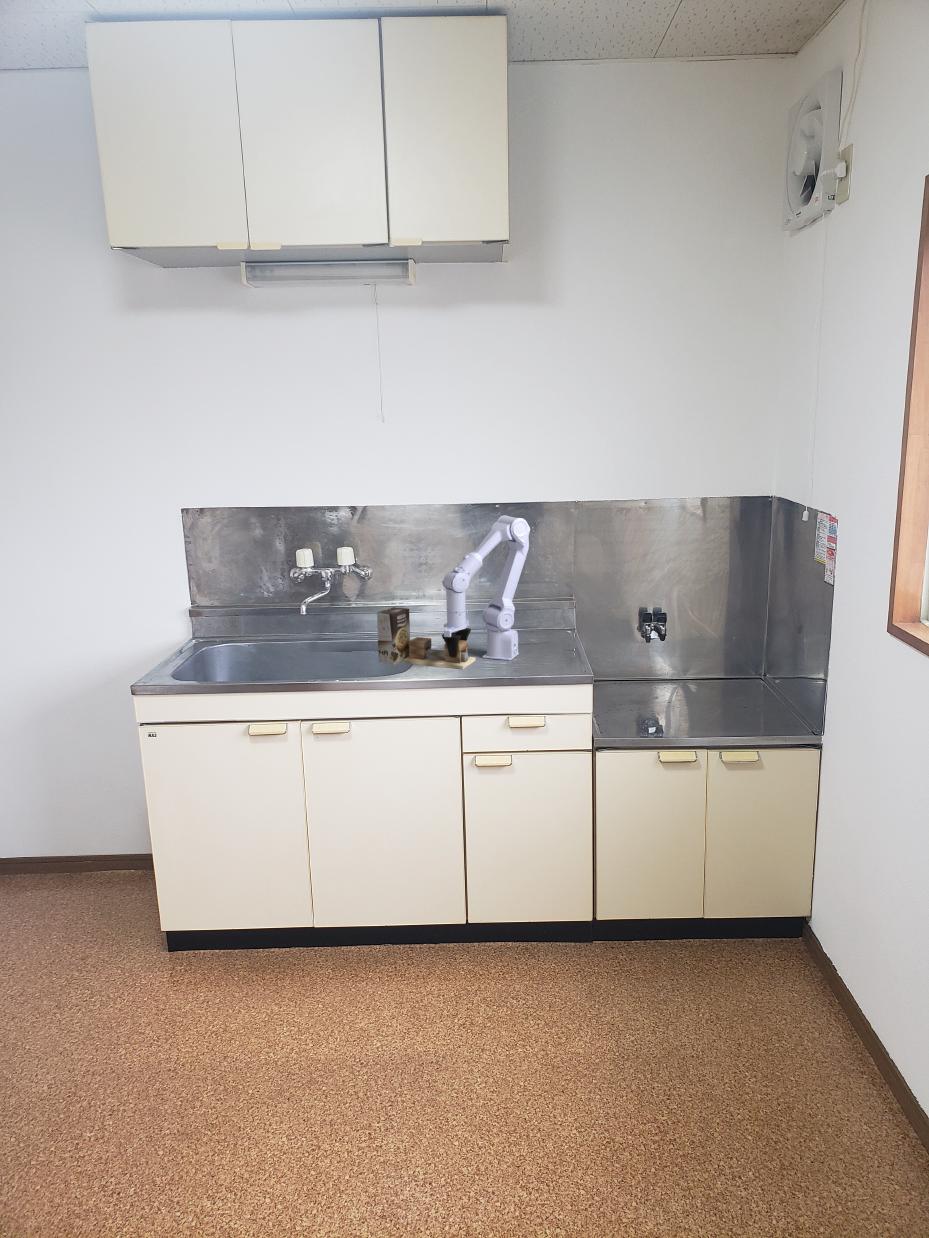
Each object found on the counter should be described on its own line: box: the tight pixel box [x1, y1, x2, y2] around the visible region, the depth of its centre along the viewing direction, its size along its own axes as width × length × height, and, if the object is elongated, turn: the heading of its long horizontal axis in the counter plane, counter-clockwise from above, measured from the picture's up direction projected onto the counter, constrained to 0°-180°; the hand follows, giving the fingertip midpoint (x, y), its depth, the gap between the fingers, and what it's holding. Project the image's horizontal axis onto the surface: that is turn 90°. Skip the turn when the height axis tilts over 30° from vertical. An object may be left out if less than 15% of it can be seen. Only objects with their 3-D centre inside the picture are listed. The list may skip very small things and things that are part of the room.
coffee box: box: [376, 606, 411, 666], centre depth 275 cm, size 9×6×16 cm
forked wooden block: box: [444, 640, 468, 663], centre depth 272 cm, size 5×5×6 cm
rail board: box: [402, 636, 476, 670], centre depth 274 cm, size 20×10×6 cm, turn 67°
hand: (457, 654), depth 272 cm, fingers closed on forked wooden block, 5 cm apart
